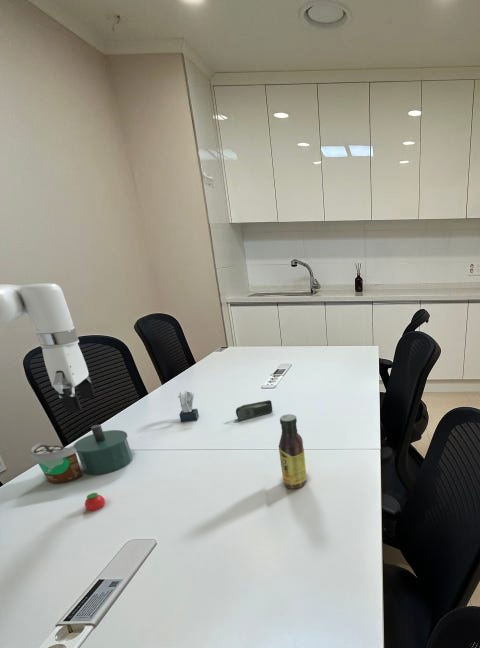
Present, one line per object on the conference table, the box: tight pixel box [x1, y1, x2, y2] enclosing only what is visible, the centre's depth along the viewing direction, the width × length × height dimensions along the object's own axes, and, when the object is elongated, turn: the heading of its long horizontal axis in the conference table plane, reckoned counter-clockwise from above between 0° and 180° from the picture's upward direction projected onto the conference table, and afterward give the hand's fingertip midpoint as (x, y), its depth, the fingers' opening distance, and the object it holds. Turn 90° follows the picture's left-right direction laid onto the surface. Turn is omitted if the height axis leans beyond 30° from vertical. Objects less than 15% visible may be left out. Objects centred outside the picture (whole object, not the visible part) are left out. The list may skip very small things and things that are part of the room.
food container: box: [30, 441, 83, 485], centre depth 106 cm, size 12×6×10 cm, turn 76°
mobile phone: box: [234, 399, 273, 422], centre depth 145 cm, size 5×3×15 cm
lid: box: [72, 424, 128, 453], centre depth 112 cm, size 13×13×6 cm
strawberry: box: [84, 492, 106, 512], centre depth 95 cm, size 4×4×4 cm
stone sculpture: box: [177, 390, 200, 423], centre depth 143 cm, size 6×8×11 cm
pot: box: [76, 437, 133, 476], centre depth 115 cm, size 12×12×8 cm
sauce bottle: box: [278, 413, 307, 489], centre depth 100 cm, size 7×6×20 cm
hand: (81, 404), depth 99 cm, fingers open, 9 cm apart
